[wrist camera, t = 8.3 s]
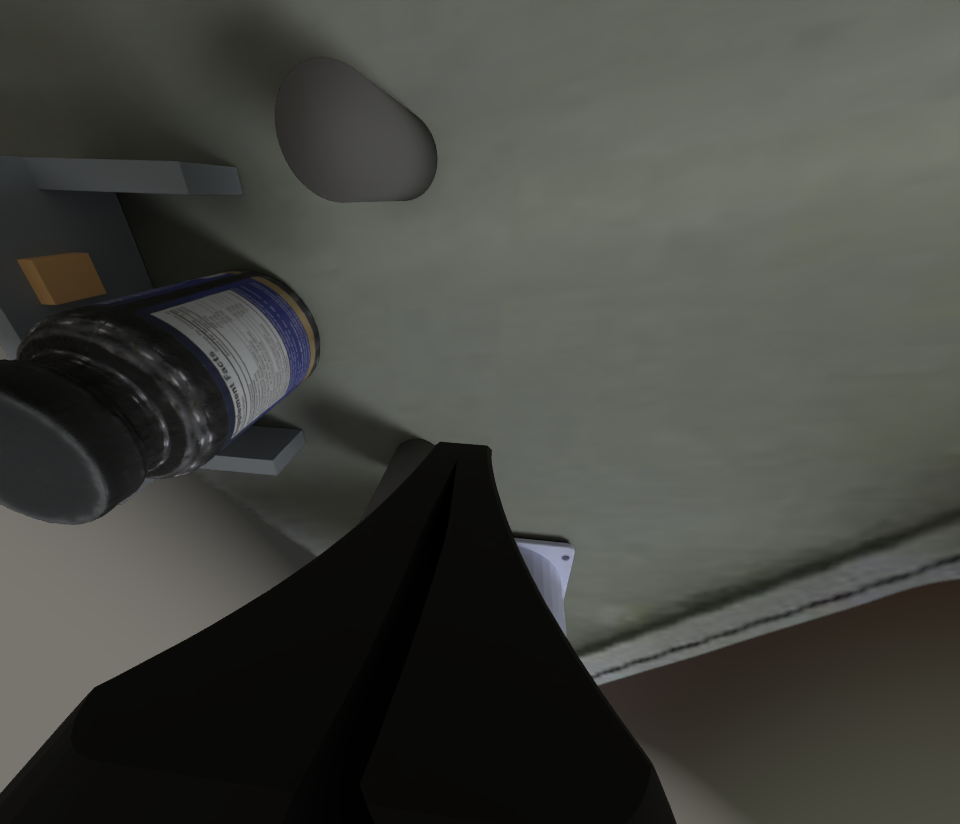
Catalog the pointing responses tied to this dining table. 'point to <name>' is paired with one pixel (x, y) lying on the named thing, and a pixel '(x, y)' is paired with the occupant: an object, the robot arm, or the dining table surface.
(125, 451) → the pill bottle
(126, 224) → the rectangular block
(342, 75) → the post
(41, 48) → the dining table surface
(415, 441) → the post
